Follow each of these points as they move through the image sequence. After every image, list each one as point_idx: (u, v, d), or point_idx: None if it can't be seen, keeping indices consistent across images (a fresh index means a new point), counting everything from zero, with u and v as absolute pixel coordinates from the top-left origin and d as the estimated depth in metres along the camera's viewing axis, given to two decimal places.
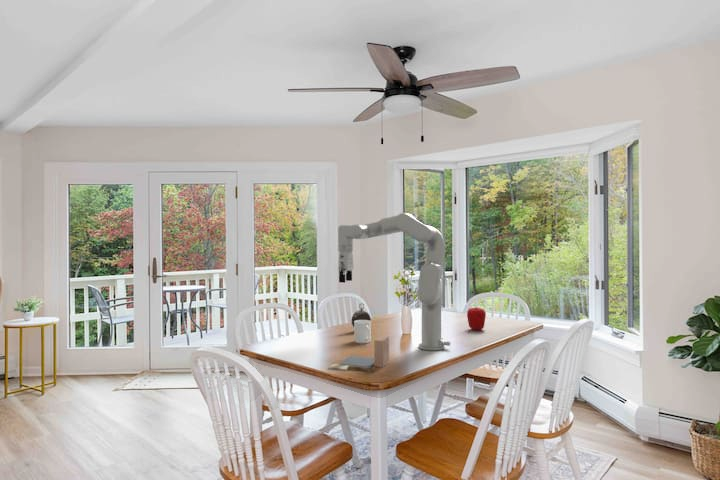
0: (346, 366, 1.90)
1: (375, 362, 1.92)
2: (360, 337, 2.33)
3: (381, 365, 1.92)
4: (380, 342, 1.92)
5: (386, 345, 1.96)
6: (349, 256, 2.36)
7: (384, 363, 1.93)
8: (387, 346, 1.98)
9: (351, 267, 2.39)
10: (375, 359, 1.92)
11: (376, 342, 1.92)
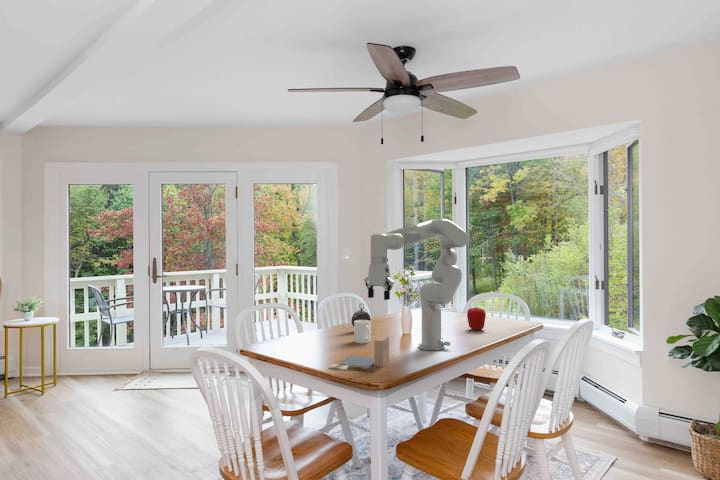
0: (346, 367, 1.90)
1: (375, 362, 1.92)
2: (360, 337, 2.33)
3: (381, 365, 1.92)
4: (380, 342, 1.92)
5: (386, 345, 1.96)
6: None
7: (384, 363, 1.93)
8: (387, 346, 1.98)
9: None
10: (375, 359, 1.92)
11: (376, 342, 1.92)
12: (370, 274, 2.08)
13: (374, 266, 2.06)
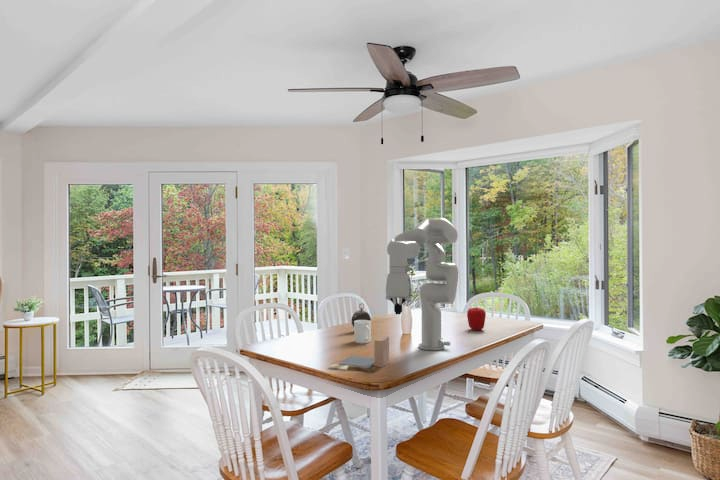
0: (346, 367, 1.90)
1: (375, 362, 1.92)
2: (360, 337, 2.33)
3: (381, 365, 1.92)
4: (380, 342, 1.92)
5: (386, 345, 1.96)
6: None
7: (384, 363, 1.93)
8: (387, 346, 1.98)
9: None
10: (375, 359, 1.92)
11: (376, 342, 1.92)
12: (389, 285, 1.92)
13: (395, 276, 1.91)
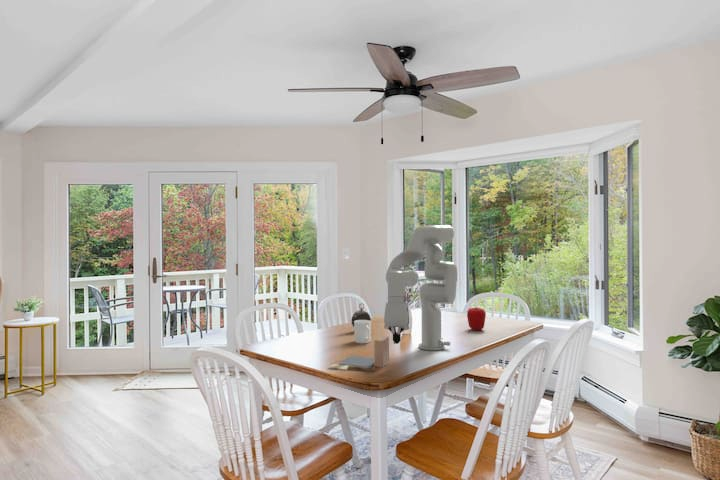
0: (346, 367, 1.90)
1: (375, 362, 1.92)
2: (360, 337, 2.33)
3: (381, 365, 1.92)
4: (380, 342, 1.92)
5: (386, 345, 1.96)
6: None
7: (384, 363, 1.93)
8: (387, 346, 1.98)
9: None
10: (375, 359, 1.92)
11: (376, 342, 1.92)
12: (388, 314, 1.93)
13: (394, 306, 1.91)
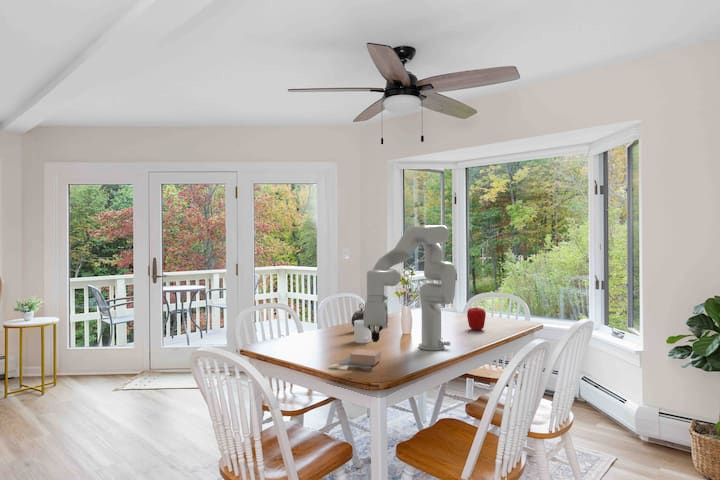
0: (346, 367, 1.90)
1: (370, 363, 1.93)
2: (360, 337, 2.33)
3: (373, 357, 1.93)
4: (351, 356, 1.96)
5: (360, 351, 2.00)
6: None
7: (373, 354, 1.95)
8: (364, 350, 2.02)
9: None
10: (368, 363, 1.94)
11: (352, 360, 1.96)
12: (367, 313, 1.96)
13: (373, 305, 1.95)
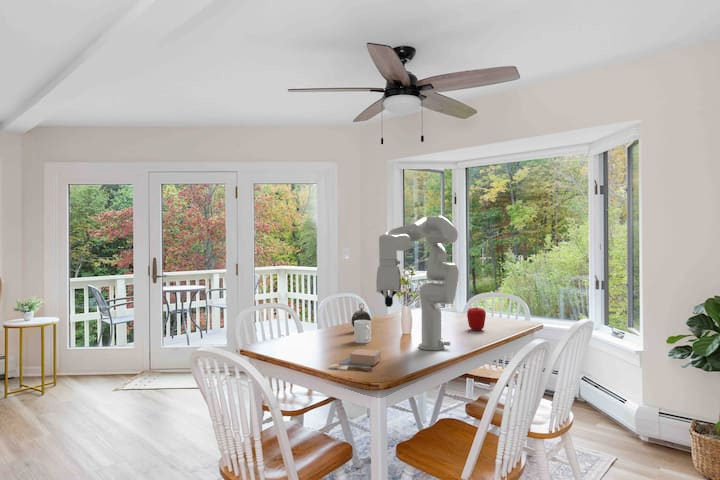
0: (346, 367, 1.90)
1: (370, 363, 1.93)
2: (360, 337, 2.33)
3: (373, 357, 1.93)
4: (351, 356, 1.96)
5: (360, 351, 2.00)
6: None
7: (373, 354, 1.95)
8: (364, 350, 2.02)
9: None
10: (368, 363, 1.94)
11: (352, 360, 1.96)
12: (380, 278, 1.94)
13: (385, 269, 1.93)
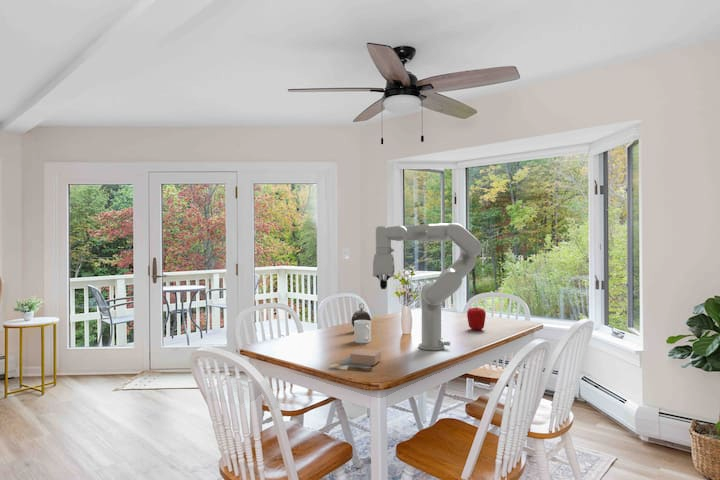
0: (346, 367, 1.90)
1: (370, 363, 1.93)
2: (360, 337, 2.33)
3: (373, 357, 1.93)
4: (351, 356, 1.96)
5: (360, 351, 2.00)
6: None
7: (373, 354, 1.95)
8: (364, 350, 2.02)
9: None
10: (368, 363, 1.94)
11: (352, 360, 1.96)
12: (376, 264, 2.22)
13: (381, 256, 2.21)
